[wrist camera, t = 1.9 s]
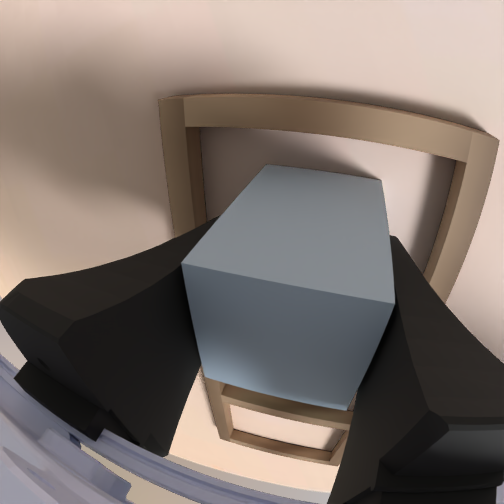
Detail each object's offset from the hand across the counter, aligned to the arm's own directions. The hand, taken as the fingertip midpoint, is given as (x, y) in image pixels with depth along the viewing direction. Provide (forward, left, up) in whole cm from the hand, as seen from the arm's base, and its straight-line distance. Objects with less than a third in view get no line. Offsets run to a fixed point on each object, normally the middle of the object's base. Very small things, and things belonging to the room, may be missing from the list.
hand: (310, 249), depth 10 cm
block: (0, 0, -2) cm, 2 cm away
